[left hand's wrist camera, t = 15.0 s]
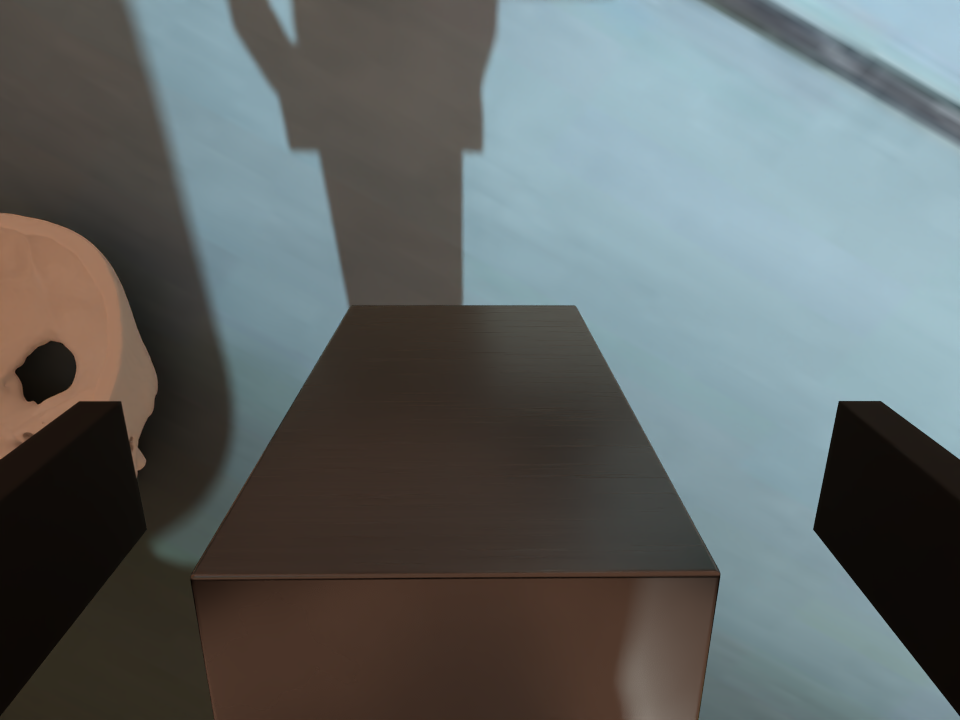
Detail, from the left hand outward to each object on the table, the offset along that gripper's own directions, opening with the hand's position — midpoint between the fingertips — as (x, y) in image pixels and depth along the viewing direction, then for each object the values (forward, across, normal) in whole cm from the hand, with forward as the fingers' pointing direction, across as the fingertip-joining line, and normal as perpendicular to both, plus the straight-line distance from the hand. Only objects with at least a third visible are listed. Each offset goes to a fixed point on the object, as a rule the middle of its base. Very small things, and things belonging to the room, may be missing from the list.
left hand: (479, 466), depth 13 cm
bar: (+2, 0, -10) cm, 10 cm away
